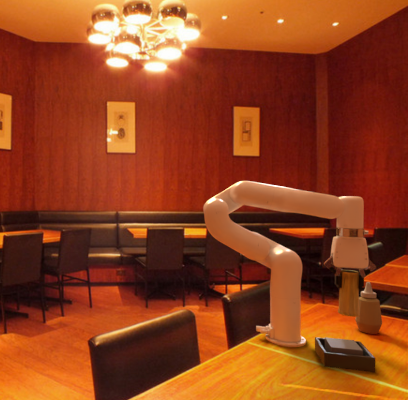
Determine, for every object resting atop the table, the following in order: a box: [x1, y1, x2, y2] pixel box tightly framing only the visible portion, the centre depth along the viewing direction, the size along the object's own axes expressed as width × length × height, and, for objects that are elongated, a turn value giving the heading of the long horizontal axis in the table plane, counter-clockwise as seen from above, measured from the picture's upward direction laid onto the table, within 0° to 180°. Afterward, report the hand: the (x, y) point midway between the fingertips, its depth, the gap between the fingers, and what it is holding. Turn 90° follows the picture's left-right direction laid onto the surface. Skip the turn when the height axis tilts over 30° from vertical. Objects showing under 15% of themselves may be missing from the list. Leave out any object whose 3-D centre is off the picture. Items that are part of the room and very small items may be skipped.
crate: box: [314, 337, 376, 374], centre depth 112 cm, size 13×13×4 cm
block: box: [324, 337, 363, 356], centre depth 112 cm, size 8×8×5 cm
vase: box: [337, 269, 360, 318], centre depth 125 cm, size 6×6×14 cm
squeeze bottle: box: [354, 281, 383, 335], centre depth 137 cm, size 8×8×18 cm
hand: (348, 287), depth 125 cm, fingers closed on vase, 5 cm apart
